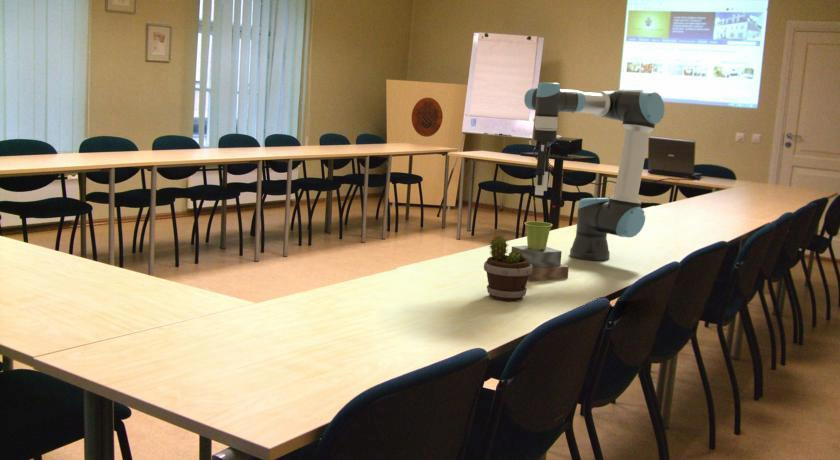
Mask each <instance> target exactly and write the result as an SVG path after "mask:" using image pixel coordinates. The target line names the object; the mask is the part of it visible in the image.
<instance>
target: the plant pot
mask: <svg viewBox="0 0 840 460" xmlns="http://www.w3.org/2000/svg"><path fill="white" fill-rule="evenodd" d="M524 225H525V230H526V240H527V246H528V248H531V249H532V250H541V249H542V250H545V249H546V247H547V245H548V239H549V235H550V232H551V229H552V227H553V224H552V223H550V222H543V221H526V222H524Z"/></svg>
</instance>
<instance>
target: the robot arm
mask: <svg viewBox="0 0 840 460" xmlns="http://www.w3.org/2000/svg"><path fill="white" fill-rule="evenodd" d="M523 102H524V105H525V106H526V108H528V109H529V110H533V111H535V114H534V115H535V117H534V118H533V119H532V122H534V128H535V129H534V130H533V141H535V142H539V143H540V144H538V146H537V161H536V162H537V163H536V170H535V171H534V172H533V175H534V176H535V186H534V187H535V188H534V195H535V196H544V193H545V192H547V191H548V183H549V181H548V178H549V173H550V172H551V168H550V156H551V153H550V152H551V150H552V149H551V147H550V146H551V144H550V143H555V142H556V141H557V138H558V137H557V136H558V132H557V129H558V123H559V122H558V121H559V113H572V114H575V113H580V114H591V115H593V116H594V117H598V118H599V117H600V118H605V119H610V120H614V121H621V122H622V125H621V126H622V127H623V128H624V131H625V132H624V137H623V143H622V148H621V155H620V160H619V166H618V170H617V178H616V183H615V189H614V194H613V195H611V196H610V197H587V198H585V197H584V198H580V200H579V201H578V207H577V217H576V229H575V230H576V231H575V233H576V234H575V237H574V240H573V242H572V247H570V250H569V256H570V257H572V258H576V259H580V260H586V261H588V260H589V261H606V260H609V259H610V258H611V257H610V255H611V252H610V250H609V244H608V238H607V237H608V234H609V235H613V236H617V237H620V238H634V237H635V236H637V235H638V234H639V233H640V232H641V231H642V230H643V228H644V225H645V223H646V213H645V211H644V209H642V207H641V206H642V202H641V200H640V199H639V194H640V193H639V192H640V187H641V181H642V176H643V171H644V166H645V165H644V164H645V159H646V154H647V147H648V142H649V137H650V133H652V132H654V130H655V128H656V127H655V126H656V124H659V123H660V122H661V121H662V120H663V119H664V115H665V103H664V100H663V98H662V96H661V95H660V93H658V92H657V91H653V90H647V89H646V90H644V89H643V90H642V89H640V90H639V89H638V90H637V89H616V90H615V89H614V90H605V91H604V90H598V91H596V92H586V91H585V92H584V91H580V90H576V89H563V88H562V89H561V83H558V82H539V83H538V85H537V87H535V88H529V89H528V90H527V91H526V92H525V95H524V100H523Z"/></svg>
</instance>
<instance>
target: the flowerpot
mask: <svg viewBox="0 0 840 460" xmlns="http://www.w3.org/2000/svg"><path fill="white" fill-rule="evenodd" d="M503 236H504V233H502V234H500V233H499V232H498V231H497V234H496V235H494V236H493V238H492V239H491V240H490V244H489V247H488V249H489V252H490V256H489V257H488V258H487V260H486V261H485V262H484V263H483V270H484V272H486V277H487V283H488V284H487V285H486V289H487V293H488V295H489V297H490V298H491V299H495V300H498V301H501V300H502V301H503V302H504V301H505V302H512V301H513V302H517V301H521V300H523V298H524V297H525V296H526V293H527V291H528V289H527V287H526V286H527V285H528V282H529V281H528V277H529V275H530V274H531V273H532V270H533V266H532V264H530V262H529V260H528V259H527V258H525V257H523V255H522V253H520V252H519V250H517V248H515V249H514V250H517V251H514V250H513V251H512V250H511V251H510V252H508V249H507V248H508V242H509V241H508V240H507V239H506V238H505V237H503ZM520 250H522V249H520ZM502 301H501V302H502Z"/></svg>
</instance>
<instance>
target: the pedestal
mask: <svg viewBox="0 0 840 460" xmlns="http://www.w3.org/2000/svg"><path fill="white" fill-rule="evenodd" d="M515 248H517V250H519V252H520V253H522V255H523V257H525V258H527V259H528V260H529V262H530V264H532V266H533V270H532V273H531V274H530V275H529V277H528V281H527V282H539V281H540V282H541V281H552V280H560V279H568V278H569V269H570V267H569V266H568V265H566V264H563V263H562V254H563V253H562V252H563V251H562V250H558V249H557V248H556V249H555V248H552V247H549V246H546V249H545V250H542V249H541V250H532V249H531V248H528V245H517V246H511V251H513V250H514V249H515ZM520 249H522V250H520ZM517 250H514V251H517Z"/></svg>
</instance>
